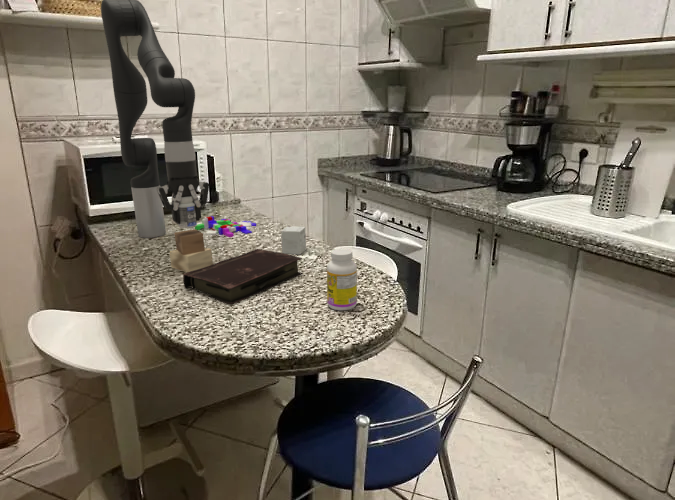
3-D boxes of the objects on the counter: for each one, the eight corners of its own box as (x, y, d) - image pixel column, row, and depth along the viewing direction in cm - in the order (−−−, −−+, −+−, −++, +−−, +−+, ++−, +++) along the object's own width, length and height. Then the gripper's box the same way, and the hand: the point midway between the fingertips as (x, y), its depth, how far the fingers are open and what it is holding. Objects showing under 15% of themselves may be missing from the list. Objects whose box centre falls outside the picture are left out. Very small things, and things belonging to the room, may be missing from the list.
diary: (183, 290, 114) (181, 271, 113) (257, 263, 133) (255, 247, 132) (233, 307, 103) (231, 287, 102) (305, 275, 122) (304, 257, 121)
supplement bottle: (326, 300, 106) (325, 247, 102) (354, 298, 106) (354, 246, 102) (328, 312, 99) (327, 256, 96) (358, 311, 100) (358, 255, 96)
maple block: (171, 268, 128) (169, 251, 127) (195, 260, 134) (193, 244, 133) (189, 273, 124) (187, 256, 122) (213, 265, 130) (211, 249, 128)
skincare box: (300, 255, 138) (299, 231, 136) (281, 253, 139) (280, 230, 137) (306, 249, 144) (305, 226, 141) (288, 247, 145) (287, 225, 143)
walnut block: (176, 249, 128) (174, 232, 127) (197, 245, 131) (195, 229, 130) (183, 255, 123) (181, 237, 122) (204, 250, 127) (202, 233, 125)
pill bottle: (191, 229, 123) (188, 198, 120) (175, 228, 124) (172, 197, 121) (200, 224, 127) (197, 194, 125) (184, 224, 128) (181, 194, 125)
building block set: (269, 230, 167) (268, 219, 166) (217, 241, 154) (215, 228, 153) (236, 218, 185) (235, 208, 184) (187, 227, 173) (186, 216, 171)
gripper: (201, 155, 127) (207, 215, 132) (148, 159, 119) (156, 223, 124) (212, 158, 121) (217, 220, 126) (156, 162, 113) (165, 228, 118)
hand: (187, 221), depth 125 cm, fingers closed on pill bottle, 4 cm apart
